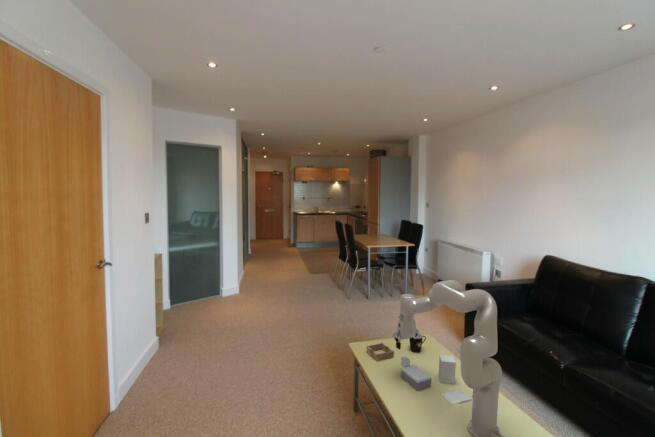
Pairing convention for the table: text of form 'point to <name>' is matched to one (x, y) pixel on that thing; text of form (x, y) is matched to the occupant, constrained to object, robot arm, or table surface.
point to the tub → (413, 383)
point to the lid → (413, 371)
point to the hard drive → (456, 397)
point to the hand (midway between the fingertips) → (405, 346)
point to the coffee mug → (417, 343)
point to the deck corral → (378, 357)
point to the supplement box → (447, 369)
